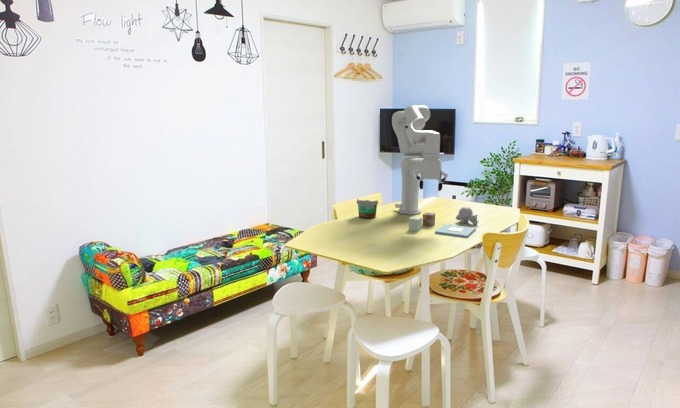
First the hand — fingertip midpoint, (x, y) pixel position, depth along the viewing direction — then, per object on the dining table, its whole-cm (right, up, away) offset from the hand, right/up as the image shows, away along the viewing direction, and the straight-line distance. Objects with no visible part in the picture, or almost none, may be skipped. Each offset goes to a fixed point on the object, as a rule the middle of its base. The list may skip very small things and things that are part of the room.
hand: (430, 189), depth 257 cm
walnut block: (0, -18, +4) cm, 19 cm away
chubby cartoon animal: (+21, -18, +7) cm, 28 cm away
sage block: (-9, -20, -5) cm, 23 cm away
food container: (-32, -15, +18) cm, 40 cm away
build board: (+11, -21, -9) cm, 25 cm away
